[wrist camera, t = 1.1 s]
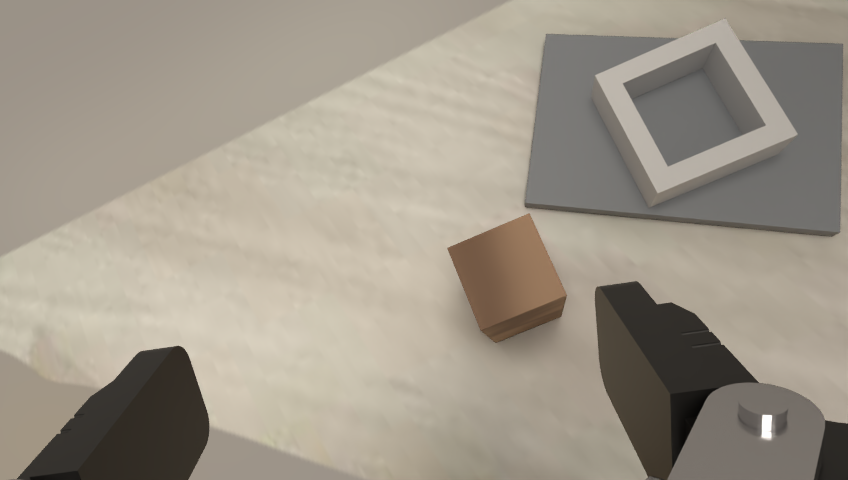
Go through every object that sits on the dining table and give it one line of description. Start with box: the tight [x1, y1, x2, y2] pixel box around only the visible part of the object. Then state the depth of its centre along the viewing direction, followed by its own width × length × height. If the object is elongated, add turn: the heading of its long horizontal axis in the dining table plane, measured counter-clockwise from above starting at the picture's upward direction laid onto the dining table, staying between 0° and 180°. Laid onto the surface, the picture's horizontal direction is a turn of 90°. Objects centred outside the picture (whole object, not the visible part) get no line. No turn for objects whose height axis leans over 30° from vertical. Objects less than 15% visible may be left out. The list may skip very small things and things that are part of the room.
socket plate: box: [525, 18, 843, 236], centre depth 37 cm, size 18×12×4 cm, turn 81°
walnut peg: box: [447, 214, 567, 343], centre depth 34 cm, size 4×4×10 cm
